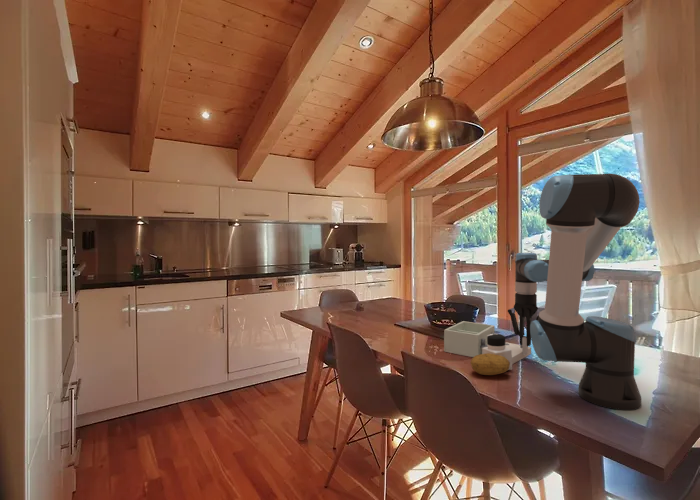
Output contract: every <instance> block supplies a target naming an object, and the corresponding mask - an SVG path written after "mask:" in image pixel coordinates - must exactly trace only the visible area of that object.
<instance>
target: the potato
mask: <svg viewBox="0 0 700 500" xmlns="http://www.w3.org/2000/svg"><path fill="white" fill-rule="evenodd" d="M470 365H471V367H472V370H473V371H474V372H476V373H477V374H479V375H484V376H496V375H500V374H503V373H506V372H507V371H509V370H508V369H509V366H510V362H509V361H508V360H507V359H506V358H505V357H503V356H500V355H495V354H490V353H487V354H481V355H476V356H475V357H471V359H470Z"/></svg>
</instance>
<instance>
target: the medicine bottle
mask: <svg viewBox="0 0 700 500" xmlns="http://www.w3.org/2000/svg"><path fill="white" fill-rule="evenodd" d="M505 342H506V336H505V335H503V334H499V333H495V334H490V335H488V336H487V346H488V347H484V348H482V354H487V353H490V354H495V355H500V356H503V357H505V358H506V359H507V360H508V361H509V362H510V366H509V369H508V370H507V371H511V370H513V364H512V351H511V349H508V348H505V347H506V345H505Z"/></svg>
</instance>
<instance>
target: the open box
mask: <svg viewBox="0 0 700 500" xmlns="http://www.w3.org/2000/svg"><path fill="white" fill-rule="evenodd" d="M443 331H444V332H443V333H444V334H443V352H445V353H451V354H455V355H460V356H466V357H470V358H473V357H475V356H476V355H481V354H482V348H484V347H488V346H487V336H488V335H490V334H496V333H495V325H492V324H488V323H487V324H486V323H479V322H471V321H465V320H463V321H460V322H458V323H456V324H454V325H452V326H450V327H447V328H445V329H444V330H443Z"/></svg>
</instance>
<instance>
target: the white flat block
mask: <svg viewBox="0 0 700 500" xmlns="http://www.w3.org/2000/svg"><path fill="white" fill-rule="evenodd" d="M505 345H506V347H505V348H508V349H511V351H512V365H513V364H515V363H517V362H519V361H521V360H522V359H525V358H526V357H528V356H530V355H532V346H528V354H527V355H524V354H522V345H520V344H517V343H512V342H506V341H505Z"/></svg>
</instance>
